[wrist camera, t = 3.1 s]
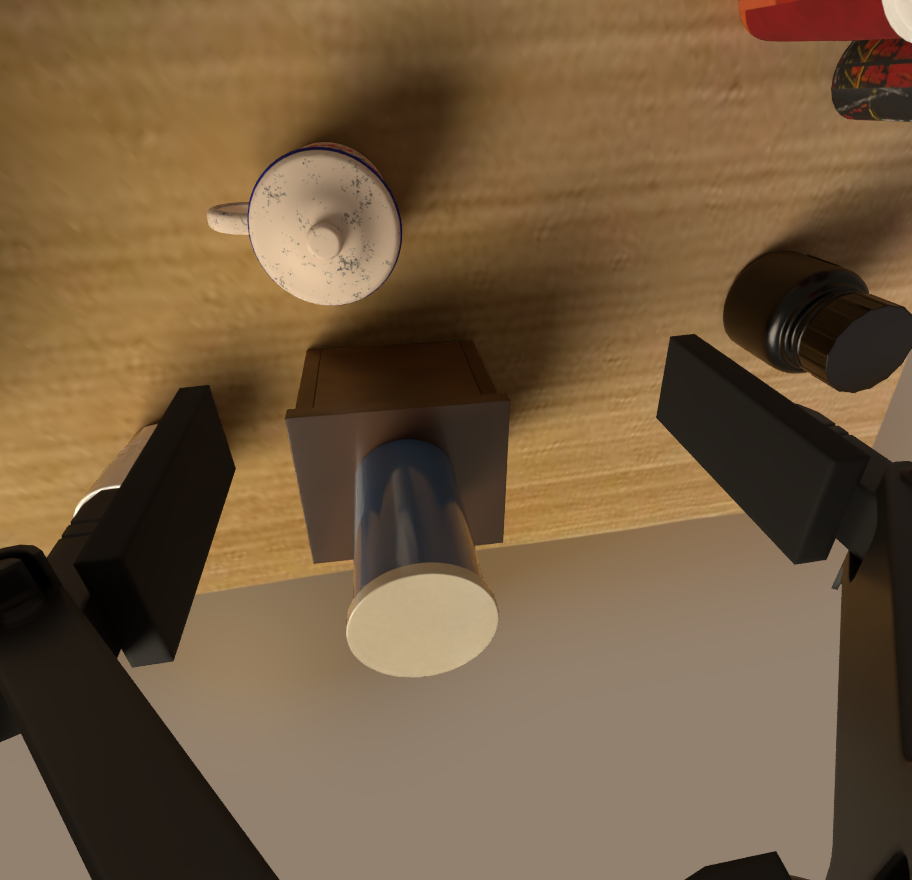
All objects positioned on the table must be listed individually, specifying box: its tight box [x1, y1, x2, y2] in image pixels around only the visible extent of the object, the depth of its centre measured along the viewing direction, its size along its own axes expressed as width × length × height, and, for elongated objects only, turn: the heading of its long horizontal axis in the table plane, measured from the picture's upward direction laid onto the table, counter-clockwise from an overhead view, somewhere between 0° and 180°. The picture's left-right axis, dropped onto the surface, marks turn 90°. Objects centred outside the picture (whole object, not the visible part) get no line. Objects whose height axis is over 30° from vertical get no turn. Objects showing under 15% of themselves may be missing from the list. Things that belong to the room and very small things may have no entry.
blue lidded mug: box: [346, 439, 499, 677], centre depth 35 cm, size 8×11×13 cm
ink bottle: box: [723, 251, 912, 393], centre depth 45 cm, size 10×9×12 cm
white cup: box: [73, 424, 158, 518], centre depth 45 cm, size 8×8×10 cm
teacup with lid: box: [207, 142, 402, 305], centre depth 35 cm, size 12×9×12 cm
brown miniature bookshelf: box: [285, 340, 510, 564], centre depth 45 cm, size 15×13×12 cm
